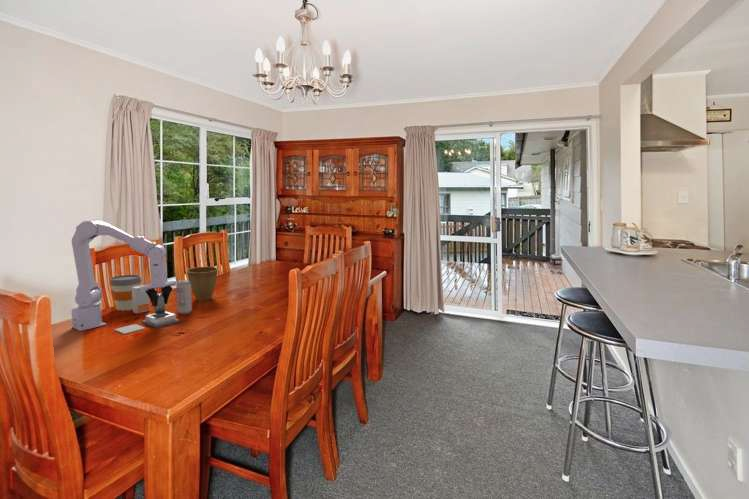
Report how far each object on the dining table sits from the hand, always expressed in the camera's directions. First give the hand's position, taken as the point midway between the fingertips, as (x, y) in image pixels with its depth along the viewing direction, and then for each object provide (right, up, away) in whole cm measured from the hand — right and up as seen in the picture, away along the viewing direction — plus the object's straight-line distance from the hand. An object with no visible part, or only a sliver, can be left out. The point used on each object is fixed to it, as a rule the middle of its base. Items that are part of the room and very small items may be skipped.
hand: (159, 304), depth 165 cm
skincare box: (-17, -6, +15) cm, 24 cm away
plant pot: (+2, -3, +39) cm, 39 cm away
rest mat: (-7, -9, -8) cm, 14 cm away
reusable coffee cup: (-27, -5, +20) cm, 34 cm away
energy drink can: (+3, -6, +15) cm, 17 cm away
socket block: (0, -8, +1) cm, 8 cm away
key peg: (0, -3, +1) cm, 4 cm away
